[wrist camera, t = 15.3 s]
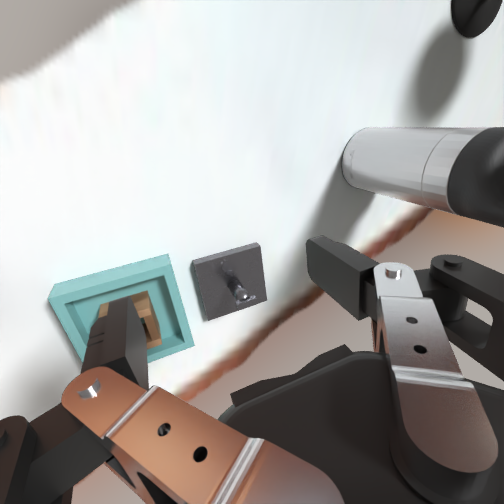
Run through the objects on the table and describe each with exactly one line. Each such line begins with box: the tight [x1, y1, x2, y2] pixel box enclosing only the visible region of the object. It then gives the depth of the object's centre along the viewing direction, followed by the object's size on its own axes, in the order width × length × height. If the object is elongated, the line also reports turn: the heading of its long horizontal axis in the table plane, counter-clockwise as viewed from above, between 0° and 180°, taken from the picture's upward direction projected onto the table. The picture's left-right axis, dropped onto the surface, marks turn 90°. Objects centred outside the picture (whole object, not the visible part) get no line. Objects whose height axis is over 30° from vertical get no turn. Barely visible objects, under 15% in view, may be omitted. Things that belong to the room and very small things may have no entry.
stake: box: [193, 242, 267, 321], centre depth 41 cm, size 10×10×7 cm
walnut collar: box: [98, 291, 162, 349], centre depth 38 cm, size 6×6×4 cm
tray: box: [48, 254, 195, 363], centre depth 39 cm, size 14×14×4 cm
